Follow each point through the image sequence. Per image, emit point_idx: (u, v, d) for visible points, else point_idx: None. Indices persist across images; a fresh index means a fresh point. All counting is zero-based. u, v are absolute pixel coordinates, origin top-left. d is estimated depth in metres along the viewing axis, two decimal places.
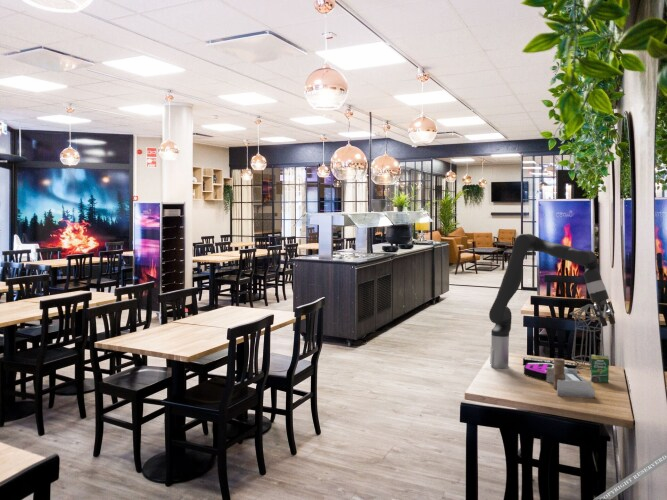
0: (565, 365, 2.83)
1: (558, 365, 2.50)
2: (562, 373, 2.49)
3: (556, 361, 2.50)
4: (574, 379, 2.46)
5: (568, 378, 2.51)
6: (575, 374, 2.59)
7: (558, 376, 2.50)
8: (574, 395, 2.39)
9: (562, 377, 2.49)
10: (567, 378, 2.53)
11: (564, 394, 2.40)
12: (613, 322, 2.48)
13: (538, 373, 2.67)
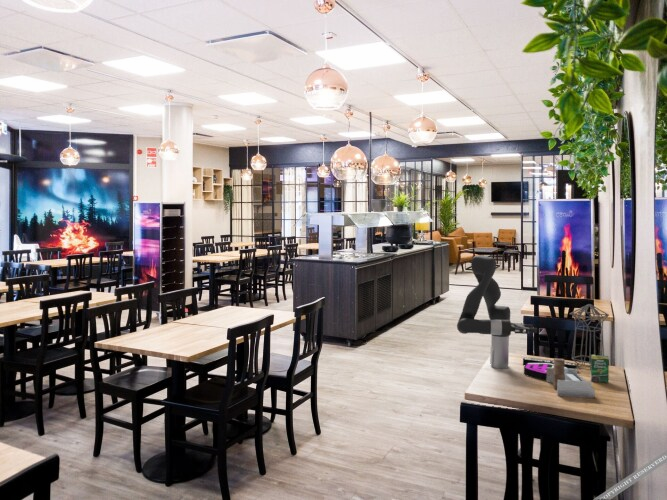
0: (565, 365, 2.83)
1: (558, 365, 2.50)
2: (562, 373, 2.49)
3: (556, 361, 2.50)
4: (574, 379, 2.46)
5: (568, 378, 2.51)
6: (575, 374, 2.59)
7: (558, 376, 2.50)
8: (574, 395, 2.39)
9: (562, 377, 2.49)
10: (567, 378, 2.53)
11: (564, 394, 2.40)
12: None
13: (538, 373, 2.67)
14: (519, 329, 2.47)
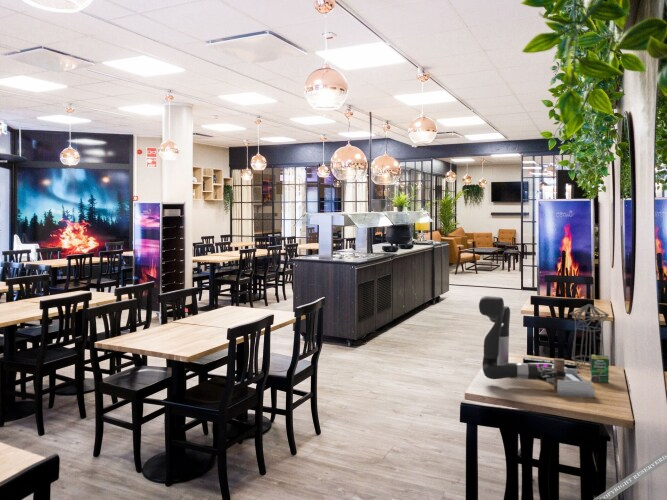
0: (565, 365, 2.83)
1: (558, 365, 2.50)
2: None
3: (556, 361, 2.50)
4: (574, 379, 2.46)
5: (568, 378, 2.51)
6: (575, 374, 2.59)
7: (558, 376, 2.50)
8: (574, 395, 2.39)
9: (562, 377, 2.49)
10: (566, 378, 2.52)
11: (564, 394, 2.40)
12: None
13: None
14: (549, 374, 2.46)
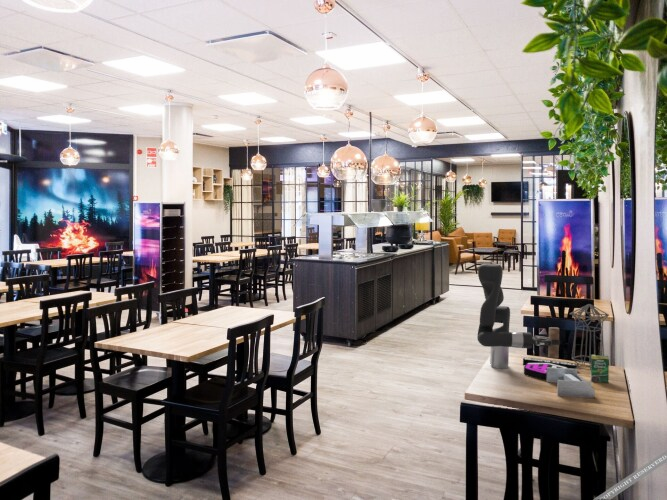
0: (565, 365, 2.83)
1: (552, 333, 2.49)
2: None
3: (551, 329, 2.49)
4: (574, 380, 2.46)
5: (567, 379, 2.51)
6: (575, 374, 2.59)
7: None
8: (574, 395, 2.39)
9: (557, 345, 2.49)
10: (566, 379, 2.52)
11: (564, 394, 2.40)
12: None
13: (538, 373, 2.68)
14: (544, 342, 2.46)
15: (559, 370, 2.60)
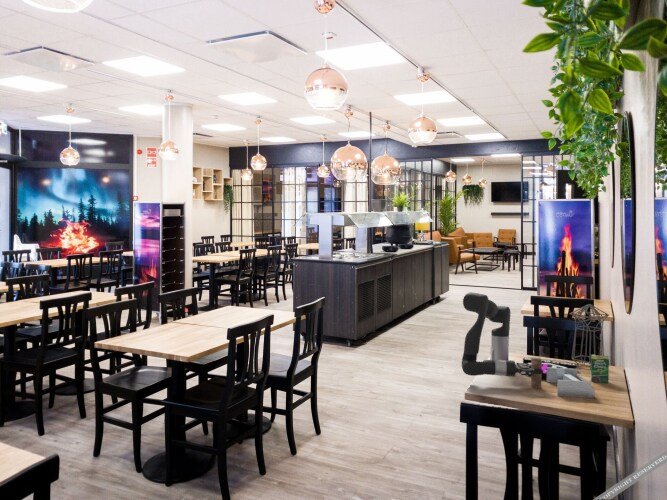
0: (565, 365, 2.83)
1: (535, 364, 2.51)
2: None
3: (533, 360, 2.51)
4: (575, 380, 2.45)
5: (567, 379, 2.50)
6: (575, 374, 2.59)
7: (535, 375, 2.51)
8: (574, 395, 2.39)
9: (539, 376, 2.51)
10: (566, 379, 2.52)
11: (564, 394, 2.40)
12: None
13: None
14: (525, 371, 2.47)
15: (559, 370, 2.60)
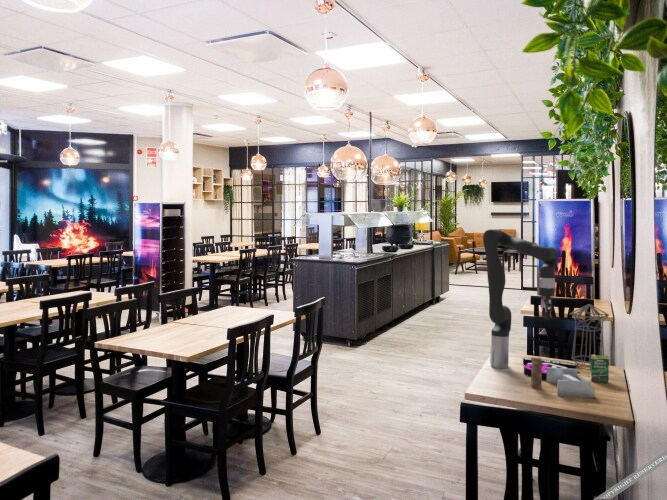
0: (565, 365, 2.83)
1: (535, 364, 2.51)
2: (540, 372, 2.51)
3: (534, 360, 2.51)
4: (575, 380, 2.45)
5: (567, 379, 2.50)
6: (575, 374, 2.59)
7: (536, 375, 2.51)
8: (574, 395, 2.39)
9: (540, 376, 2.51)
10: (565, 379, 2.51)
11: (564, 394, 2.40)
12: (545, 315, 2.74)
13: None
14: None
15: (559, 370, 2.60)
